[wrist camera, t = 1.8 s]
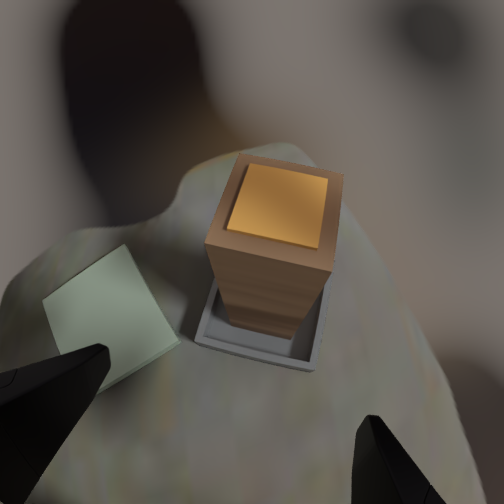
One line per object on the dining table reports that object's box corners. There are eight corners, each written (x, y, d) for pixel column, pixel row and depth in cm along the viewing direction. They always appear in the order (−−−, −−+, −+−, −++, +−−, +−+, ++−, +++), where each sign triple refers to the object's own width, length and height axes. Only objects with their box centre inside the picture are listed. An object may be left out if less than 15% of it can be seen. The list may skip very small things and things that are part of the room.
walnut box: (290, 340, 21) (333, 269, 10) (231, 326, 22) (203, 240, 10) (302, 285, 23) (344, 171, 12) (246, 272, 24) (238, 149, 12)
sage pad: (181, 342, 22) (178, 340, 21) (86, 400, 19) (80, 400, 18) (128, 248, 26) (124, 243, 25) (48, 304, 23) (42, 300, 22)
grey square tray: (309, 372, 21) (315, 370, 19) (199, 345, 22) (194, 340, 20) (329, 270, 24) (334, 259, 23) (229, 247, 26) (227, 236, 24)
